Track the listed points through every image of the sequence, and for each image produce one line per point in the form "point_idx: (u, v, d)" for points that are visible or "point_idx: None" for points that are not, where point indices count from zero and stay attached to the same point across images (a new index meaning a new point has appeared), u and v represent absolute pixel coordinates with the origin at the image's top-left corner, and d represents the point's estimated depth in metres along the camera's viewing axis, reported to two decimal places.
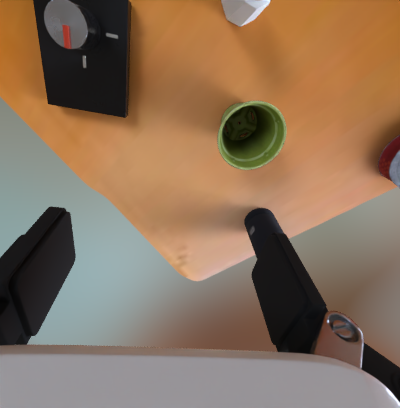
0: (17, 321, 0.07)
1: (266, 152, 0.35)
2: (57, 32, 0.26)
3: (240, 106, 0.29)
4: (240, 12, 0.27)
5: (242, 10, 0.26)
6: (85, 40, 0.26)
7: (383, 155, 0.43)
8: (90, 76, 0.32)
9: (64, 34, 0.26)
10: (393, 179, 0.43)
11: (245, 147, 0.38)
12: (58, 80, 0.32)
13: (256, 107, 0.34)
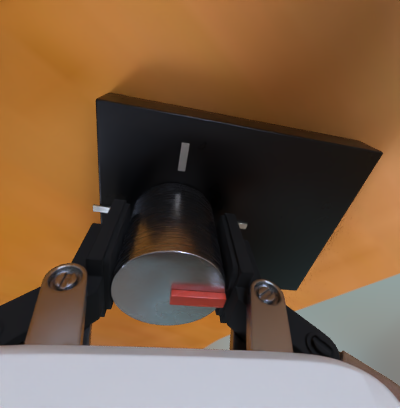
0: (103, 294, 0.09)
1: None
2: (187, 309, 0.10)
3: None
4: None
5: None
6: (205, 258, 0.08)
7: None
8: (265, 219, 0.14)
9: None
10: None
11: None
12: (261, 270, 0.16)
13: None
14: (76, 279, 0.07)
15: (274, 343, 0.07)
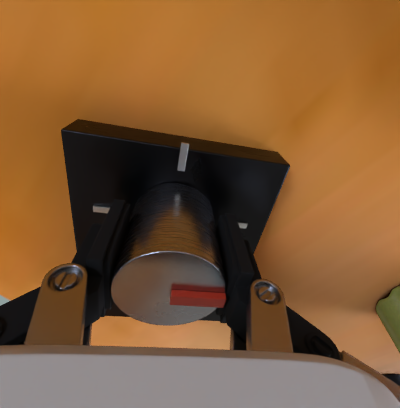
0: (103, 294, 0.09)
1: None
2: (188, 309, 0.10)
3: None
4: None
5: None
6: (205, 258, 0.08)
7: None
8: None
9: None
10: None
11: None
12: None
13: None
14: (76, 279, 0.07)
15: (274, 343, 0.07)
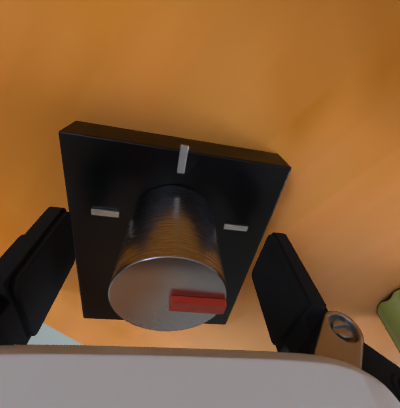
0: (17, 321, 0.07)
1: None
2: (187, 315, 0.09)
3: None
4: None
5: None
6: (206, 264, 0.08)
7: None
8: None
9: None
10: None
11: None
12: None
13: None
14: None
15: None
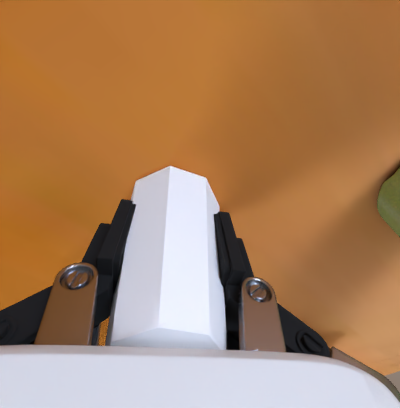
0: (112, 293, 0.09)
1: None
2: None
3: None
4: None
5: None
6: None
7: None
8: None
9: None
10: None
11: None
12: None
13: None
14: (87, 278, 0.07)
15: (263, 340, 0.07)
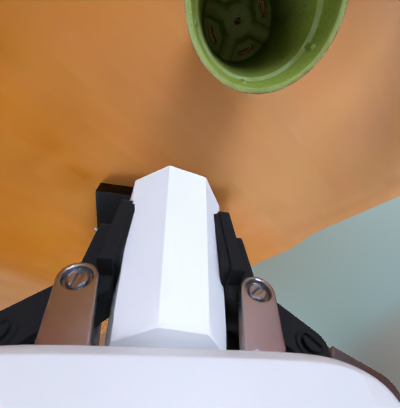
0: (112, 293, 0.09)
1: None
2: None
3: (196, 44, 0.14)
4: None
5: None
6: None
7: None
8: None
9: None
10: None
11: (289, 4, 0.18)
12: None
13: None
14: (87, 278, 0.07)
15: (263, 340, 0.07)
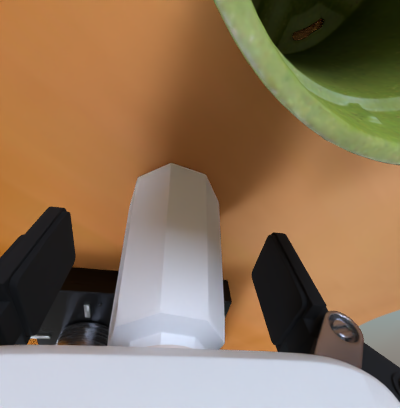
0: (17, 321, 0.07)
1: None
2: None
3: None
4: None
5: None
6: None
7: None
8: None
9: None
10: None
11: None
12: None
13: None
14: None
15: None
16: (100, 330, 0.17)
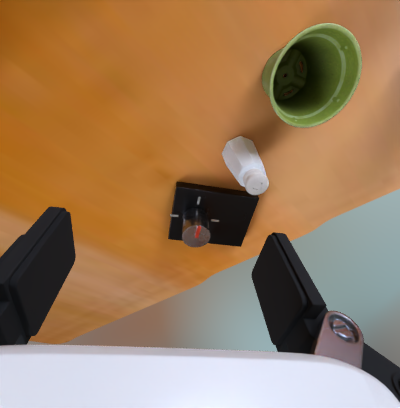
0: (17, 321, 0.07)
1: (341, 47, 0.24)
2: (203, 233, 0.36)
3: (273, 102, 0.25)
4: None
5: None
6: (185, 229, 0.35)
7: None
8: (225, 218, 0.41)
9: (198, 233, 0.36)
10: None
11: (321, 69, 0.28)
12: (226, 237, 0.43)
13: (273, 61, 0.27)
14: None
15: None
16: (202, 210, 0.39)
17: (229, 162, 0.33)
